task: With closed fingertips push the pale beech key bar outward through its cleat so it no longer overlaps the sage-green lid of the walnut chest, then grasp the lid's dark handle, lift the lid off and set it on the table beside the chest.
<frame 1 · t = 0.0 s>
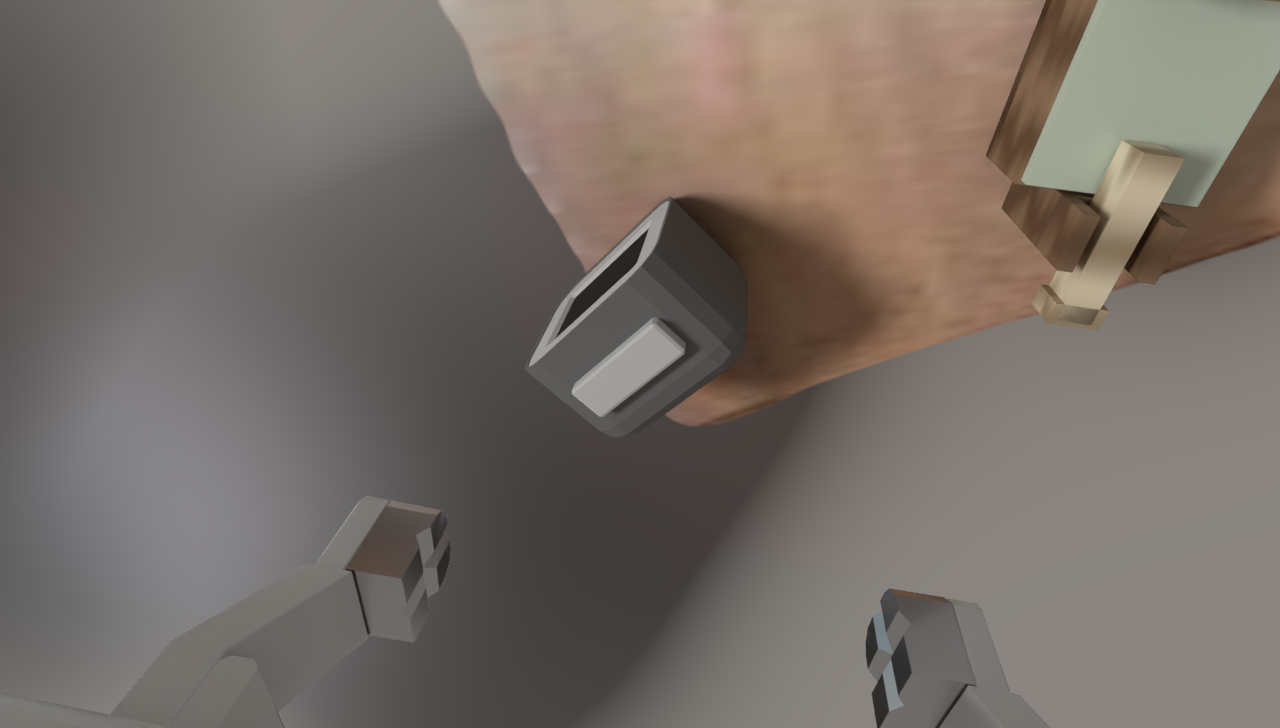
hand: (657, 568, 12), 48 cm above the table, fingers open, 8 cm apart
chest: (1120, 40, 46), on the table
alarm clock: (656, 286, 63), on the table
lid: (1172, 56, 41), point 7 cm above the table, touching chest
key bar: (1104, 239, 45), point 10 cm above the table, slide at 0.0 cm
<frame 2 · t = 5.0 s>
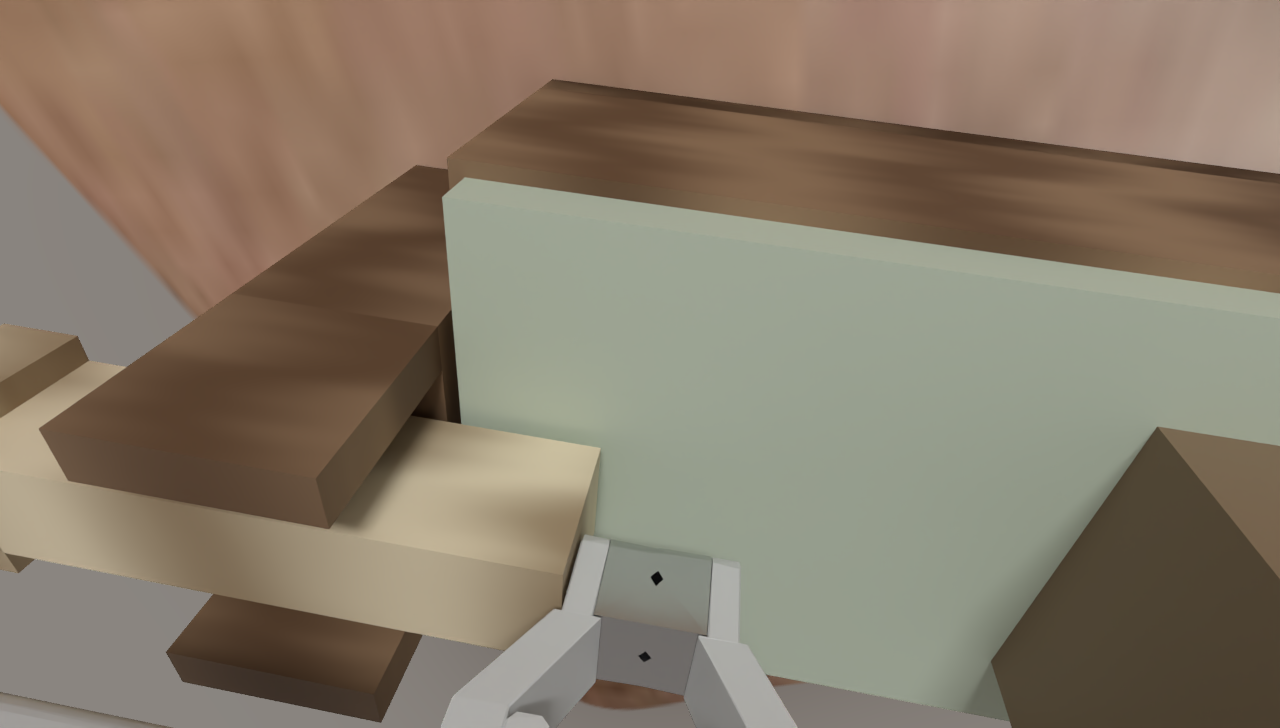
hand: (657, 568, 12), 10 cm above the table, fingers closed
chest: (840, 328, 20), on the table
lid: (874, 495, 14), point 7 cm above the table, touching chest
key bar: (267, 492, 12), point 10 cm above the table, slide at 0.8 cm, touching gripper
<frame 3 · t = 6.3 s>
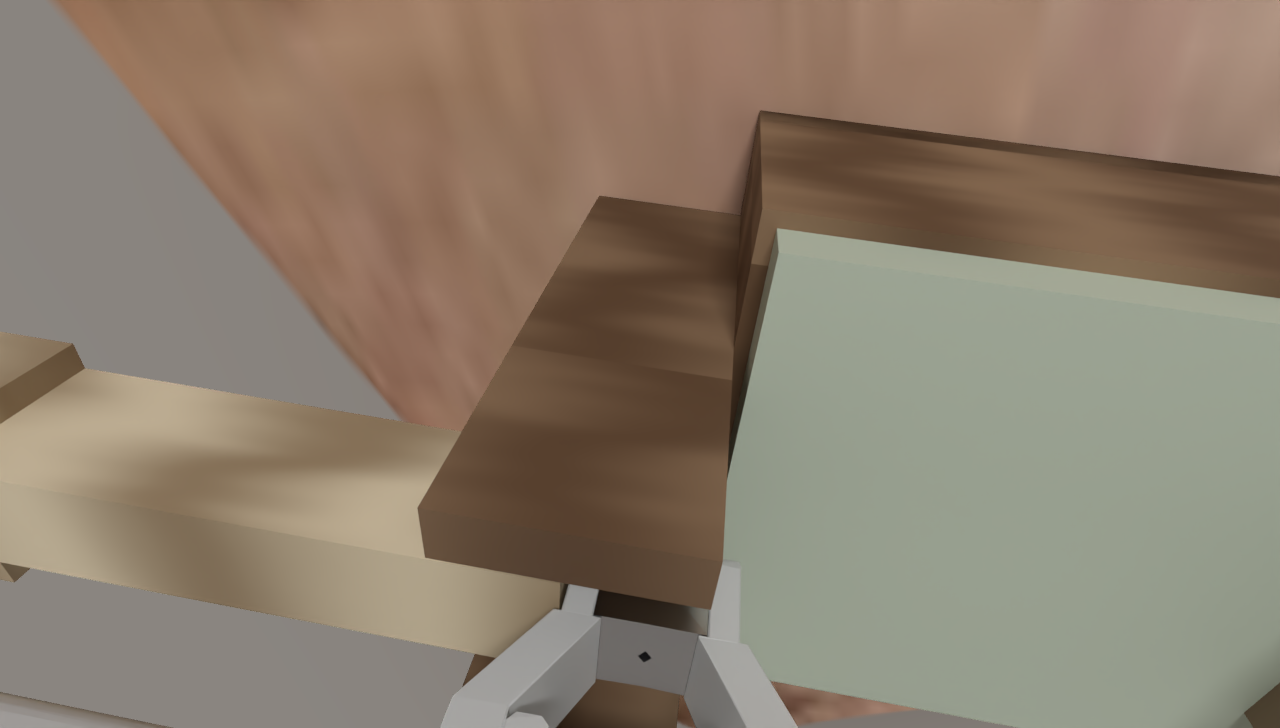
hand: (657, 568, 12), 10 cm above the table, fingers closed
chest: (1024, 360, 19), on the table
lid: (1140, 545, 13), point 7 cm above the table, touching chest
key bar: (263, 500, 12), point 10 cm above the table, slide at 6.2 cm, touching gripper
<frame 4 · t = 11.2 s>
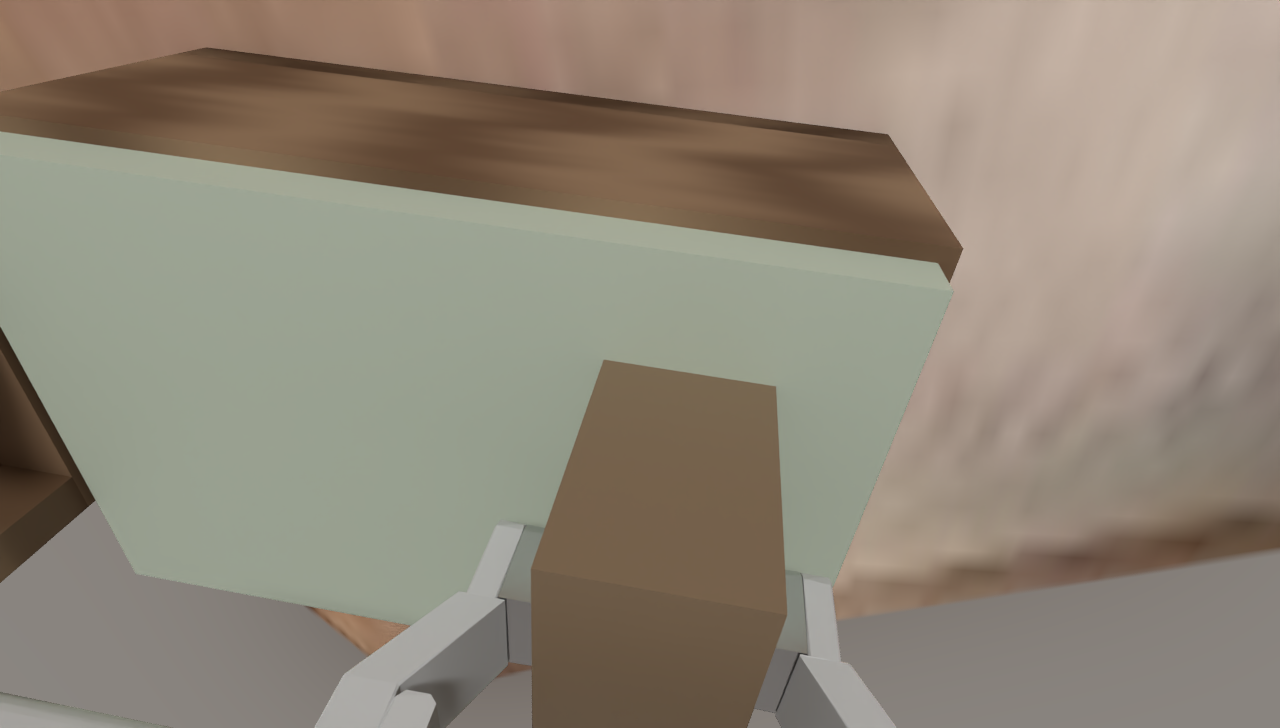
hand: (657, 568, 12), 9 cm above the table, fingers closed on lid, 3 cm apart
chest: (535, 294, 20), on the table
lid: (447, 441, 14), point 7 cm above the table, touching chest, gripper
when the fingers open (5 cm above the table, at t = 18.5 s): lid moves 1 cm, point 1 cm above the table.
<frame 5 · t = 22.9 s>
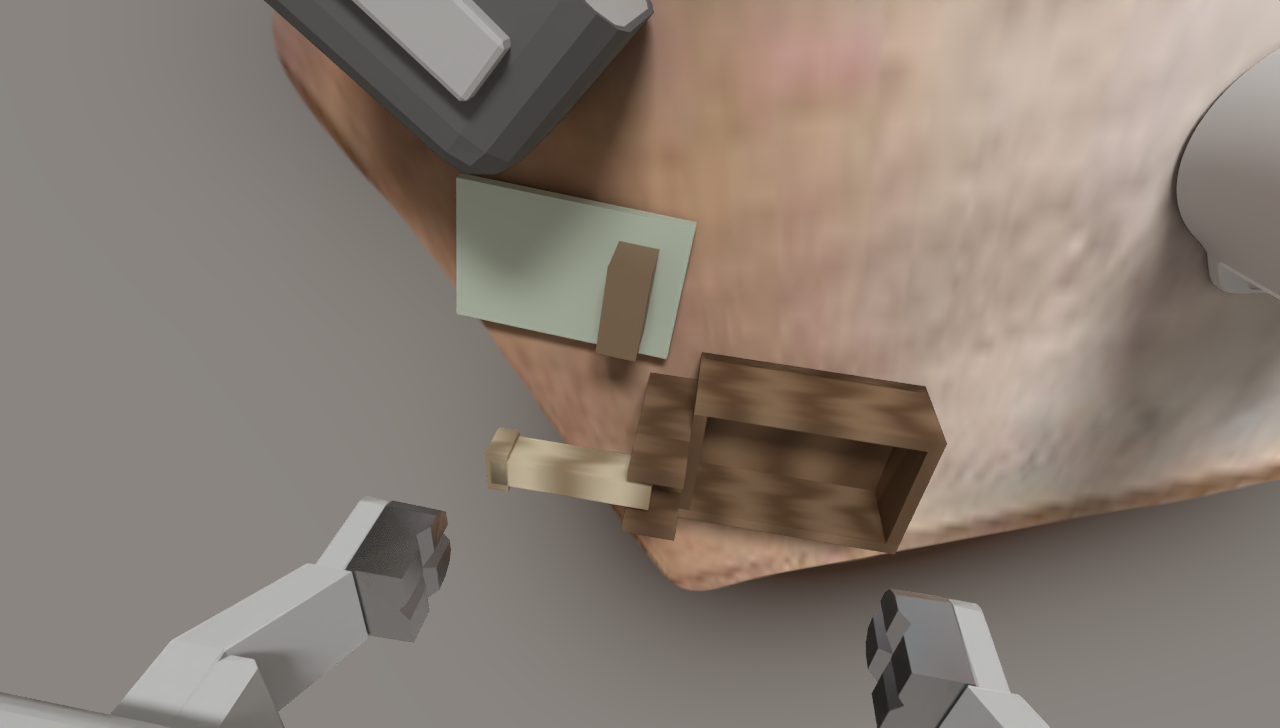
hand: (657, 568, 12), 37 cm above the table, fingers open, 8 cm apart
chest: (796, 426, 56), on the table
lid: (570, 268, 50), point 1 cm above the table
key bar: (572, 470, 49), point 10 cm above the table, slide at 6.2 cm
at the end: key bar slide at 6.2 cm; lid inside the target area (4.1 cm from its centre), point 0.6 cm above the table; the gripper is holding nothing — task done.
